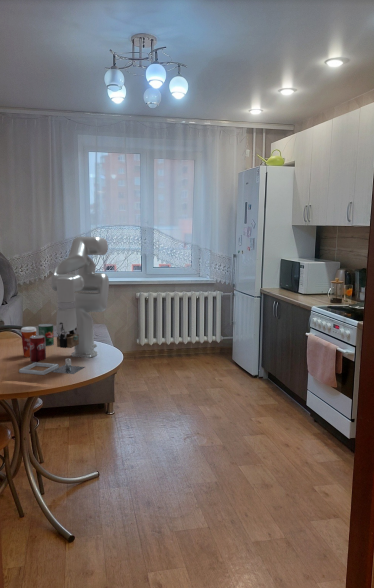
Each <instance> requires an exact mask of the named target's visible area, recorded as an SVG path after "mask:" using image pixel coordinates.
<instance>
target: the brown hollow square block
mask: <svg viewBox="0 0 374 588" xmlns="http://www.w3.org/2000/svg"><path fill="white" fill-rule="evenodd" d="M62 334H63V335H64V333H62ZM66 339H67V348H66V349H72V348H75V346H76V345H78V344H79V334H69V333H67V335H66ZM56 347H57V348H61V347H60V339H59V336H58V335H57V336H56Z"/></svg>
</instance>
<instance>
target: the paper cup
mask: <svg viewBox="0 0 374 588" xmlns="http://www.w3.org/2000/svg"><path fill="white" fill-rule="evenodd" d="M20 333H21V343H22V352H23V353H22V354H23V357H25V358H30V342H29V338H30V337H31V336H35V335H37V328H36V326H25V327H24V326H23V327H21V329H20Z"/></svg>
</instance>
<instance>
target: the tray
mask: <svg viewBox="0 0 374 588" xmlns="http://www.w3.org/2000/svg"><path fill="white" fill-rule="evenodd" d="M34 367H45V369H44V370H36V369H32V368H34ZM59 367H60V366H59V363H48V362H35V363H31V364H28V365H25V366H23V367H22V368H20V369H19V370H18V372H19V374H29V375H30V374H31V375H43V376H45V375H46V374H48V373H51V371H53V370H55V369H57V368H59Z"/></svg>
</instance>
